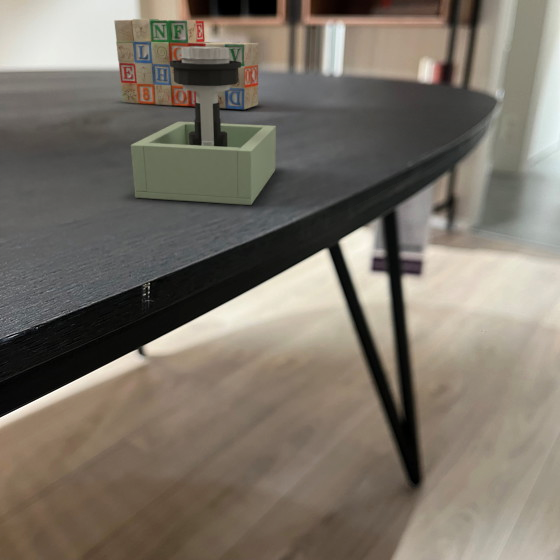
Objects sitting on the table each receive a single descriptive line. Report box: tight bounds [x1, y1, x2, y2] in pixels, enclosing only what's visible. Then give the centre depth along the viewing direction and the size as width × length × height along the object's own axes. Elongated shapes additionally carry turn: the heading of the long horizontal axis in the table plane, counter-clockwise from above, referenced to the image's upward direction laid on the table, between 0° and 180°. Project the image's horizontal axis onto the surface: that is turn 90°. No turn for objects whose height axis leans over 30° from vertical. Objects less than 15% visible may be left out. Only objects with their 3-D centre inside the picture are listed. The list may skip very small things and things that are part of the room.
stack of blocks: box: [113, 18, 259, 110], centre depth 89 cm, size 21×6×12 cm, turn 71°
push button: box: [170, 47, 241, 147], centre depth 45 cm, size 7×5×10 cm
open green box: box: [130, 121, 277, 206], centre depth 47 cm, size 9×11×4 cm
